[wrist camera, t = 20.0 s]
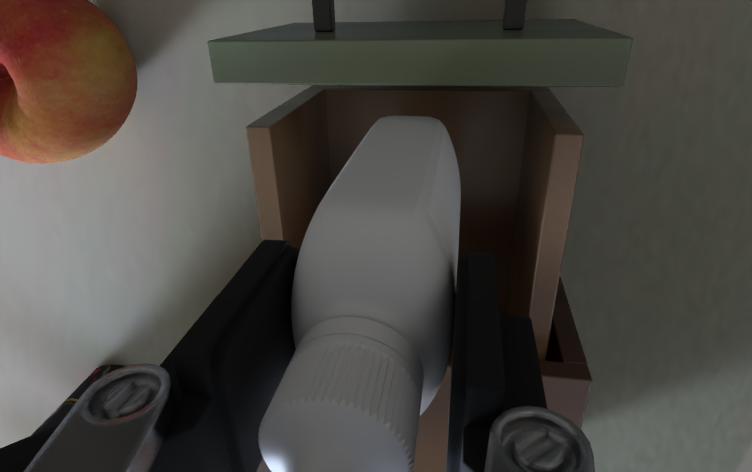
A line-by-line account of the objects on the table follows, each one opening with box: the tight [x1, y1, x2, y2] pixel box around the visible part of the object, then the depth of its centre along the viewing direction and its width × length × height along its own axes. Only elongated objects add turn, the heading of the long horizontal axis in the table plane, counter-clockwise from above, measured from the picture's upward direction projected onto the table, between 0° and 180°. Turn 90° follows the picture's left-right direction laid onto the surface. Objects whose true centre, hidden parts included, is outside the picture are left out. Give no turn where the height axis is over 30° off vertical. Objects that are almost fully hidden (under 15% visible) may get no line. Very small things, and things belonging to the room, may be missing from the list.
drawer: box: [208, 0, 633, 361], centre depth 18 cm, size 18×11×8 cm, turn 2°
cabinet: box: [257, 277, 592, 472], centre depth 24 cm, size 15×13×10 cm
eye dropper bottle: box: [258, 116, 461, 472], centre depth 11 cm, size 4×6×12 cm
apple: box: [0, 0, 137, 163], centre depth 20 cm, size 7×7×8 cm
